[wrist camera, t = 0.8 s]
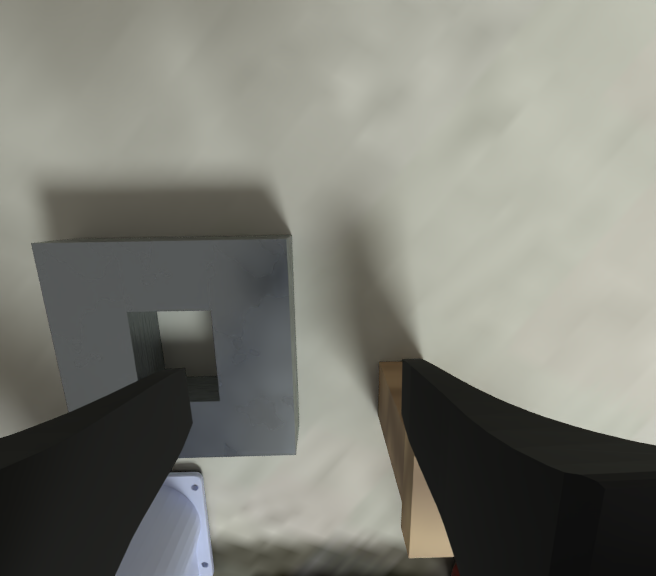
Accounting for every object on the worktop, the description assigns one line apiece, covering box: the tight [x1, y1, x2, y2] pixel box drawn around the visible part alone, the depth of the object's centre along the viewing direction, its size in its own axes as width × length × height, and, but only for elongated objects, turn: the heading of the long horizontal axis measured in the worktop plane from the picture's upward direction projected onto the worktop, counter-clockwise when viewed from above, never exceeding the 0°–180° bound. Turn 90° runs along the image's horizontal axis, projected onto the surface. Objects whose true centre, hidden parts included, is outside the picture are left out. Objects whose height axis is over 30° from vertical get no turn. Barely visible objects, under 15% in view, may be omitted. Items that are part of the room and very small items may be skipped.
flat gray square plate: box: [31, 235, 299, 458], centre depth 20 cm, size 13×13×3 cm
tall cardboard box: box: [378, 361, 454, 558], centre depth 18 cm, size 7×3×8 cm, turn 1°
